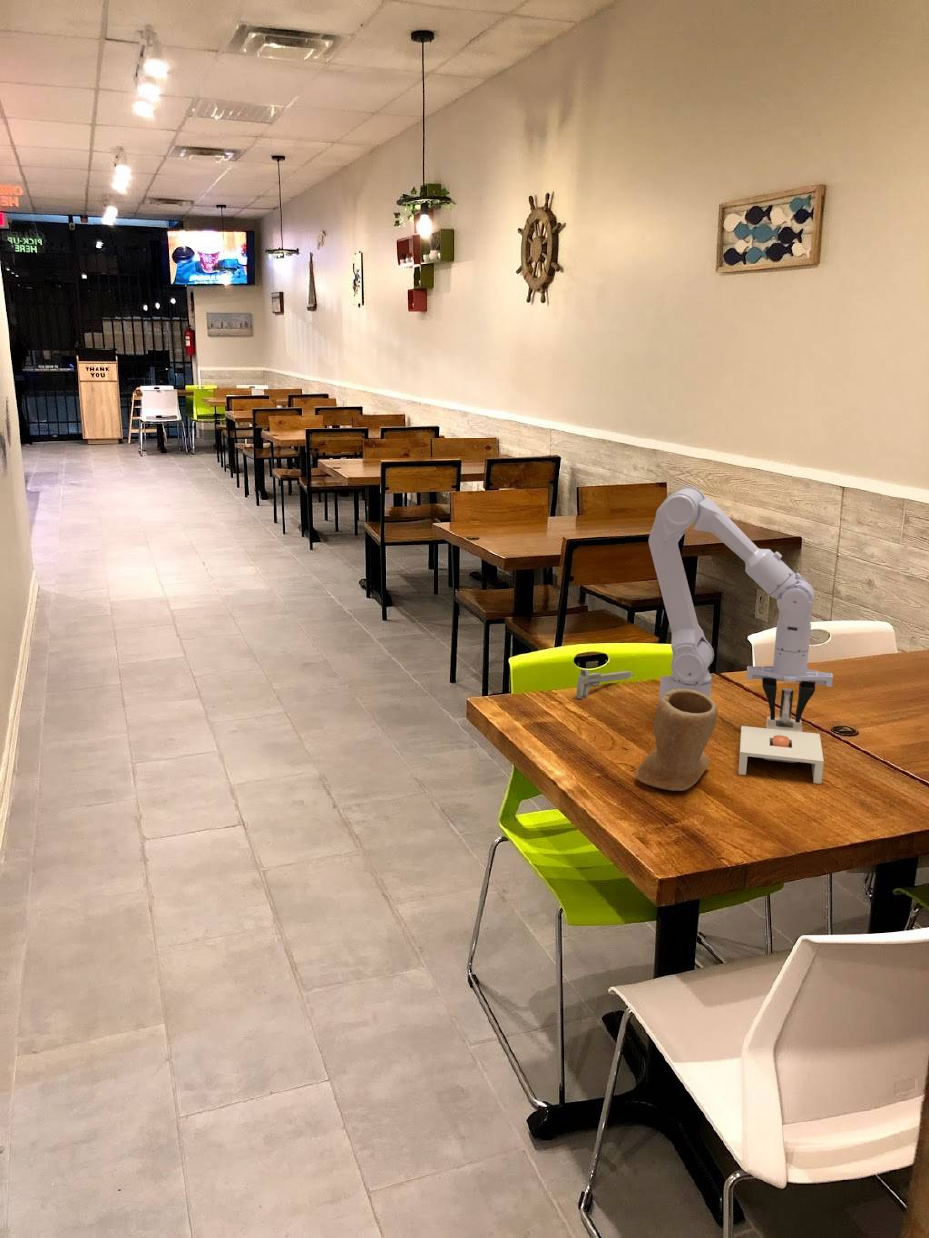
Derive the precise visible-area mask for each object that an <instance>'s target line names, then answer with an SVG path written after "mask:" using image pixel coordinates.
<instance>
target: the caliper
mask: <svg viewBox="0 0 929 1238" xmlns="http://www.w3.org/2000/svg"><path fill="white" fill-rule="evenodd" d="M589 671H590V670H589V669H585V668H584V669H580V674H579V675H578V678H577V683H576V699H578V700H583V698H584V699H586V698H588V695H589V692H590V689H591V687H594V688H596V687H600V683H604V682H605V683H606V682H612V681H620V680H628V679H629V678H631V677H633V676H635V675H634V673H632V671H628V670H622V671H616V672H608V673H599V672H592V673H589Z"/></svg>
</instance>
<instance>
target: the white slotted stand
mask: <svg viewBox="0 0 929 1238" xmlns="http://www.w3.org/2000/svg"><path fill="white" fill-rule="evenodd" d="M776 735H781V736H786V737H788V738H789V748H788V747H779V746H772V745H773V737H774V736H776ZM739 741H740V742H739V756H738V757H739V758H738V772H737V773H738V775H739V776H740V775H743V776H746V775H747V767H748V766H747V764H748V757H752V758H760V759H761V758H762V759H765V758H768V759H777V760H786V761H795V763H799V762H800V763H806V764H810V765H811V773H812V781H813V784H818V785H819V784H820V785H821V784H822V782H823V780H822V779H823V773H824V772H823V771H824V761H825V760H824V754H823V753H824V752H823V749H822V748H823V747H822V746H823V745H822V741H821V735H820V733H815V732H807V731H806V732H805V731H803V732H797V731H787V730H777V729H768V728H766V727H756V726H746V725H741V727H740V740H739Z"/></svg>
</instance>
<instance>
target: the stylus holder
mask: <svg viewBox="0 0 929 1238" xmlns="http://www.w3.org/2000/svg"><path fill="white" fill-rule="evenodd" d="M802 723H803V722H802V719H800V723H798V722H796V721H795V718H791V723H790V728H789V727H780V726H779V717H776V716H775V720H771V718H770V716H766V725H765V726H766V727H765V728H768V729H777V730H787V731H797V732H804V731H803V724H802Z"/></svg>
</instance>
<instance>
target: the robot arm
mask: <svg viewBox="0 0 929 1238" xmlns="http://www.w3.org/2000/svg"><path fill="white" fill-rule="evenodd" d="M692 524H695V525H694V526H693V530H694V531H700V532H708V533H711V534H712V535H714V536H715V537H716V538H717V539H719V540H720V541H721V542H722V543H723V544H724V545H725V546H726V547H727V548H729V549H730V551H732V552H733V553H734V554H735V555H737V556H738V557H739V559H741V560H742V561H743V562H744V564H745V567H744V568H745V571H744V572H745V573H746V574H747V575H748V576H749V577H750V578H751V579H752V580H753V581H754V582H755V583H756V584H757V585H758V586H759V587H760V588H762V590H764V592H765V593H766V594H767V595H769V596H770V598H773V599H775V600H776V605H777V609H778V611H779V612H778V613H779V614H778V620H777V622H776V629H775V630H776V631H775V640H774V641H775V643H774V654H773V664H772V665H768V666H767V665H766V666H764V665H762V666H760V665H759V666H753V665H751V666H750V665H748V666H747V667H746V680H761V681H762V683H761V684H762V685H761V686H762V689H763V691H764V693H765V696H766V699H767V703H768V706H769V712H770V714H769V715H770V716H769V717H770V718H771V720H775V717H776V698H777V690H778V685H777V684H778V682H788V683H797V684H798V695H797V696H798V697H797V703H796V709H795V717H794V719H795V721H796V722H798V723H800V720H802V719H801V718H802V714H803V713H804V711H805V708H806V706H807V704H808V702H809V700H810V699H811V697H812V696H813V695H814V693H815V692H816V685H823V686H825V687H828V688H829V687H830V688H831V687H833V680H834V676H833V673H832V672H823V671H818V670H814V669H813V670H812V669H808V661H809V659H808V658H809V649H810V640H811V631H812V628H811V627H812V624H811V620H812V609H813V607H814V600H815V597H816V596H815V590H814V587H813V586H812V584H811V583H810V581H809V580H808V579H806V578H804V577H802V574H800V573H799V572H796V573H795V572H794V571H793V570H792V569H791V568H790V567H789V566H788V565H787V564H786V563H785V562H784V561H783V560H782V557H783V555H782V554H781V553H780V552H779V551H775V552H773V551H772V550H771V549H769V548H759V547H758V546H757V545H756V544H755V543H754V542H753V541H752V540H751V539H750V538H749V537H748V536H747V535H746V534H745V533H744V532H743V531H742V529H741V528H739V526H738V525H736V523H735V522H734V521H733V520H732V519H731V518H730V517H729V516H728V515H727V514H726V513H725V512H724V511H723V510H722V509H721V508H720V507H719V506H718V505H717V504H716V503H715V502H714V501H713V500H712V499H711V498H709V497H708V496H707V497H705V494H704V493H703V492H702V491H701V490H700V489H698V488H696V487H693V486H684V487H682V488H681V487H680V489H678V490H677V491H675V492H674V493H671V494H669V496H667V497H666V498H665V499H664V501H663V502H662V503H661V505H660V506H659V507H658V508H657V510H656V513H655V519H654V521H653V525H652V528H651V529H650V530H651V531H650V533H649V537H648V546H649V549H650V554H651V557H652V561H653V566H654V570H655V573H656V578H657V582H658V585H659V589H660V592H661V596H662V600H663V604H664V608H665V612H666V615H667V619H668V623H669V628H670V631H671V641H670V642H671V643H670V645H671V646H670V647H671V651H672V659H671V663H670V667H671V672H672V673H671V675H662V676H661V678H660V684H659V685H660V686H659V693H658V695H659V696H658V702H659V701H660V699H661V697H662V696H663V695H664V694H665V693H667V692H668V691H670V690H674V689H690V690H695V691H698V692H700V693H703V694H705V695H706V696H708V697H710V698H711V691H712V690H711V689H712V679H713V678H712V675H711V674H710V672H709V669H708V668H709V666H711V664H712V663H713V661H714V658H715V657H714V656H715V653H714V652H715V651H714V647H712V645H711V643H709V641H708V640H707V639H706V637H705V633H704V630H703V629H702V627H701V626H700V625H699V621H698V618H697V614H696V611H695V607H694V603H693V598H692V595H691V591H690V586H689V583H688V579H687V575H686V571H685V567H684V563H683V560H682V559H683V558H682V556H681V551H680V548H679V542H680V540H681V539H682V537H683V536H684V535H685V533H686V532H687V529H688V528H689V527H690V526H691V525H692Z"/></svg>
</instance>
